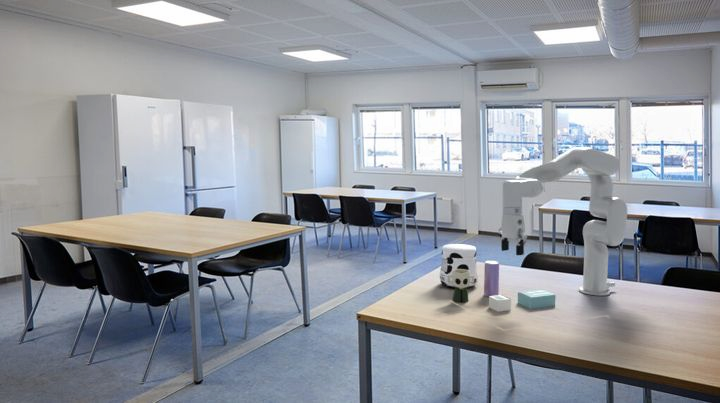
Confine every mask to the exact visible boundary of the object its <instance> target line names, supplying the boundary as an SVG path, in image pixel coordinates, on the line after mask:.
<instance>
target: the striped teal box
mask: <svg viewBox="0 0 720 403" xmlns="http://www.w3.org/2000/svg"><path fill="white" fill-rule="evenodd" d="M517 304H519V305H520V306H521V305H522V306H523V307H526V308H528V309H537V308H545V307H555V306H556V294H555V293H553V292H550V291H548V290H546V289H545V290H544V289H543V288H541V289H537V290H534V289H533V290H525V291H519V292H517Z"/></svg>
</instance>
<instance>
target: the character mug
mask: <svg viewBox="0 0 720 403" xmlns="http://www.w3.org/2000/svg"><path fill="white" fill-rule="evenodd" d="M450 277H452V281H451V280H450ZM470 277H472V281H470ZM448 283H452V284H453V286H455V288H453V289H454V290H453V294H452V295H453V296H452V300H453V302H456V303H461V302H462V303H467V302H468V301H469V294H468V293H469V292H468V288H466V287H468V286H469V284H470V283H474V275H470V271H469V270H465V269H455V270H453V271H452V275H448Z"/></svg>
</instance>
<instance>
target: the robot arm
mask: <svg viewBox="0 0 720 403" xmlns="http://www.w3.org/2000/svg"><path fill="white" fill-rule="evenodd" d="M578 169H581V170H582V171H583V173H585V174H586V175H587V177H588V179H589V181H590V186H591V188H590V194H589V195H590V197H589V205H588V207H589V208H588V211H589V213H590V215H591V216H593V217H596V218H601V219H606V221H604V220H600V219H592V220H589V221H587V222H586V223H585V224H584V225H583V228H582V236H583V237H582V238H583V244H584V255H583V256H584V257H583V276H582V277H583V278H582V279H583V280H582V283H583V284H582V286H579V287H578V291H579V292H580V293H582V294H586V295H589V296H597V297H598V296H600V297H602V296H603V297H604V296H608V295H611V290H610V289H609V288H613V287H615V286H616V283H615V282H614V281H612V282H609V281H608V269H609V268H608V266H609V249H608V247H607V246H610V247H614V246H615V247H616V246H619V245H620V244H621V243H623V241H624V238H625V235H626V226H627V219H628V205H627V203H626V201H625V200H624V199H622V198H620V197H616V196H613V191H614V190H613V189H614V188H613V187H614V183H613V179H612V177H611V176H614V175H616V174H617V173H618V172H619V169H620V161H619V159H618V158H617V156H614V155H613V154H610V153H607V152H604V151H601V150H598V149H595V148H593V147H571V148H569V149H567V150H565V151H564V152H562V153H561V154H560V155H558V156H556V157H555V158H553V159H551V160H550V161H548V162H546V163H543V164H540V165H538V166H535V167H532V168H530V169H528V170H525V171H523V172H522V173H520V174H519V175H517V176H515V178H513V179H506V180H504V181H503V182H502V216H501V217H502V218H501V225H500V228H498V234H499V237H500V242H501V244H500V245H501V246H500V247H501V249H500V250H501V251H502V252H504V251H505V252H506V251H509V249H510V246H509V245H510V241H509V240H512V241H515V243H516V245H515V255H516V256H523V255H524V254H525V250H524V249H525V244H526V242H527V238H528V235H527V234H526V226H525V225H526V224H525V218H524V215H523V198H536V197H537V198H538V197H539V196H540V195H541V194H542V193H543V189H544V186H543V184H546V183H553V182H556V181H560V180H562V179H563V178H565V177H566V176H568V175H569V174H571V173H572V172H574V171H575V170H578Z"/></svg>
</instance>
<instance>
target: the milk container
mask: <svg viewBox="0 0 720 403" xmlns="http://www.w3.org/2000/svg"><path fill="white" fill-rule="evenodd" d="M455 269H465V270H469V271H470V275H474V283H470V284H469V286H468V287H466V288H467V289H469V288H472V287H475V286H476V285H477V283H478V280H479V274H478V270H477V247H476V246H475V245H470V244H462V243H460V244H459V243H453V244H450V243H449V244H445V245H443V246H442V248H441V267H440V271H439V280H440V283H441V285H443V286H445V287H448V288H453V289H455V286H453V284H452V283H448V275H452V271H453V270H455ZM450 280H451V281H452V277H450ZM470 281H472V277H470Z"/></svg>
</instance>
